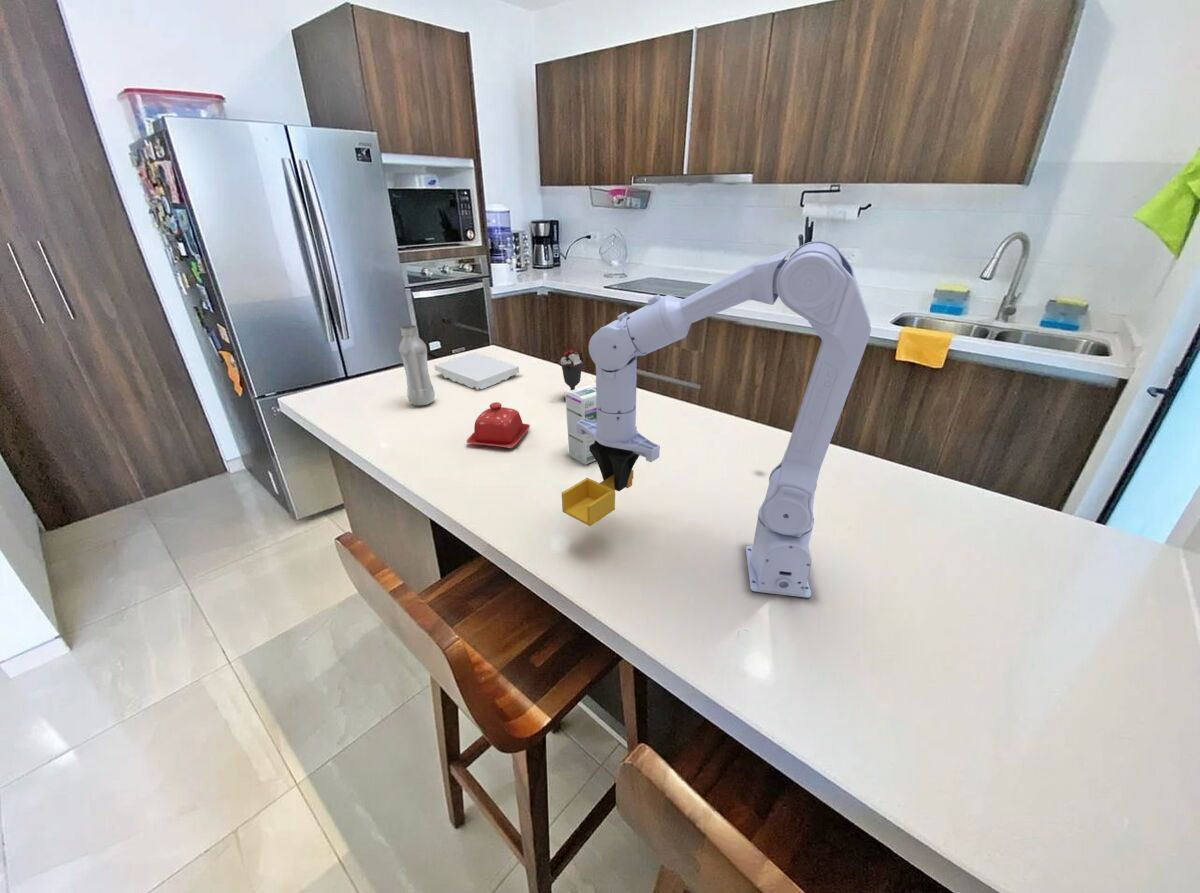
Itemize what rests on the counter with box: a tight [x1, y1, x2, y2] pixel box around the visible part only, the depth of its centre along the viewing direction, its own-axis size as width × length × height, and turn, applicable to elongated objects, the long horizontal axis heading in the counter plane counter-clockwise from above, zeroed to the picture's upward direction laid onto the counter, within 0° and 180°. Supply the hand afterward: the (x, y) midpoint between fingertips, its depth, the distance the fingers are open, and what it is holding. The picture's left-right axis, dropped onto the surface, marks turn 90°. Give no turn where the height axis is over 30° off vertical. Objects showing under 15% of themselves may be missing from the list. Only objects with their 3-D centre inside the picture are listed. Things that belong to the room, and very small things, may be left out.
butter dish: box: [466, 401, 531, 448], centre depth 109 cm, size 12×12×8 cm
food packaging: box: [434, 351, 520, 391], centre depth 147 cm, size 15×3×20 cm
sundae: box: [558, 344, 585, 402], centre depth 128 cm, size 7×7×15 cm
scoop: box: [561, 469, 634, 527], centre depth 76 cm, size 13×6×3 cm, turn 139°
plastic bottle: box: [398, 324, 436, 406], centre depth 125 cm, size 6×7×20 cm
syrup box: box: [564, 384, 597, 466], centre depth 100 cm, size 6×6×14 cm
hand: (615, 485), depth 78 cm, fingers closed on scoop, 2 cm apart
